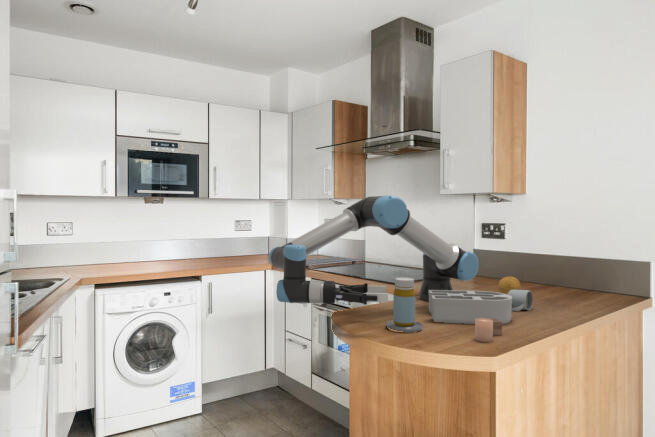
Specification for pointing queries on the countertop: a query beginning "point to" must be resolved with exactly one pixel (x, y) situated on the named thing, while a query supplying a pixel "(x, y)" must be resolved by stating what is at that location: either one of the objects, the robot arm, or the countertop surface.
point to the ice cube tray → (469, 306)
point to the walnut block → (496, 326)
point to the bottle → (404, 302)
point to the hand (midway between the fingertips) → (387, 293)
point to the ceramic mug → (521, 299)
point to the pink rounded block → (484, 329)
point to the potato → (509, 284)
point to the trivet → (415, 327)
